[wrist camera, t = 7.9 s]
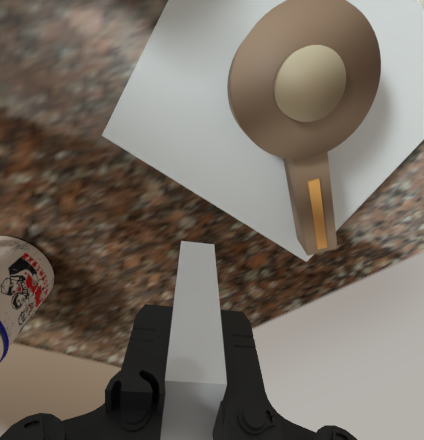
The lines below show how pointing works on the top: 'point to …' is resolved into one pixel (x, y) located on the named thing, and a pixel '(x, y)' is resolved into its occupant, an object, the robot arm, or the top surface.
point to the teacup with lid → (20, 286)
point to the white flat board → (235, 137)
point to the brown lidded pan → (306, 98)
